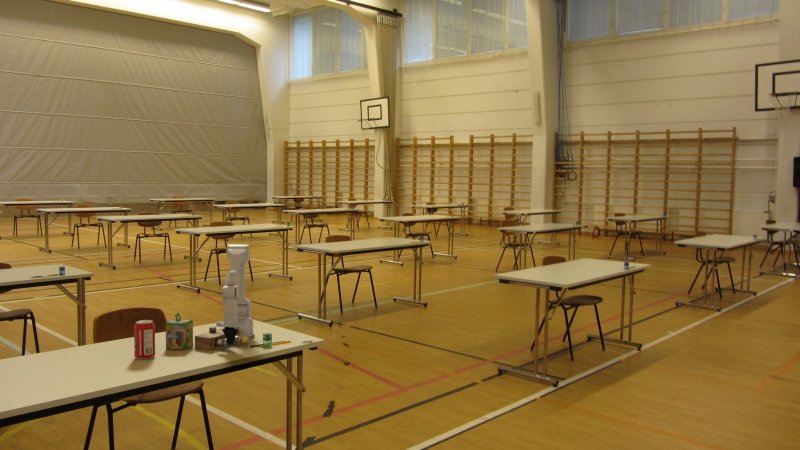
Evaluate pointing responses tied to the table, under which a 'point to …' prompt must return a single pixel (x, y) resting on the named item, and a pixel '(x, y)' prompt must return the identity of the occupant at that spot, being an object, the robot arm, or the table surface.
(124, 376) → the table surface
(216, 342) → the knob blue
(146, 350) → the soda can
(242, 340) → the knob mustard
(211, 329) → the dial
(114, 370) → the table surface
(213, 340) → the mount
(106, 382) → the table surface
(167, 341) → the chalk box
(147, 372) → the table surface
